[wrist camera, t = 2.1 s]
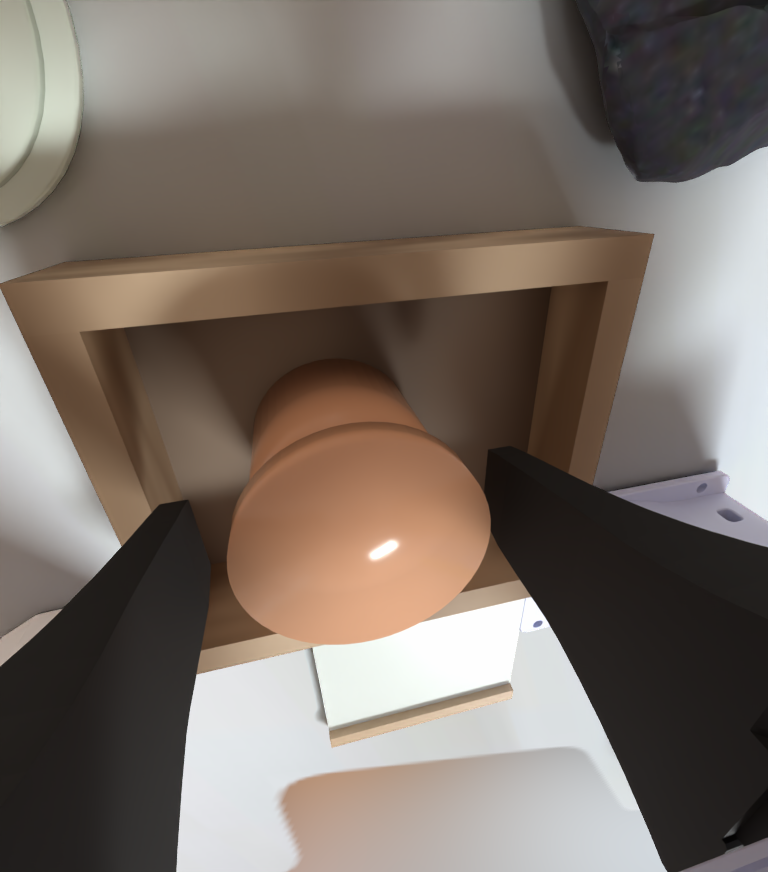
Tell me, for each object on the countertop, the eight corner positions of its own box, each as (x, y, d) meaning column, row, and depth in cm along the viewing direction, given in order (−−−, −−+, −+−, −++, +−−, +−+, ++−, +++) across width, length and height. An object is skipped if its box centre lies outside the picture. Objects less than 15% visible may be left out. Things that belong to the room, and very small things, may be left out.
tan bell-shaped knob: (418, 338, 13) (502, 421, 8) (418, 489, 16) (481, 615, 11) (224, 360, 12) (193, 468, 7) (261, 516, 15) (256, 667, 10)
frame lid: (524, 553, 20) (535, 570, 19) (503, 681, 25) (511, 698, 24) (304, 600, 18) (305, 620, 17) (329, 727, 23) (331, 747, 22)
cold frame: (578, 226, 13) (688, 237, 10) (531, 511, 18) (590, 583, 15) (64, 262, 10) (-34, 294, 7) (186, 578, 16) (163, 681, 13)
